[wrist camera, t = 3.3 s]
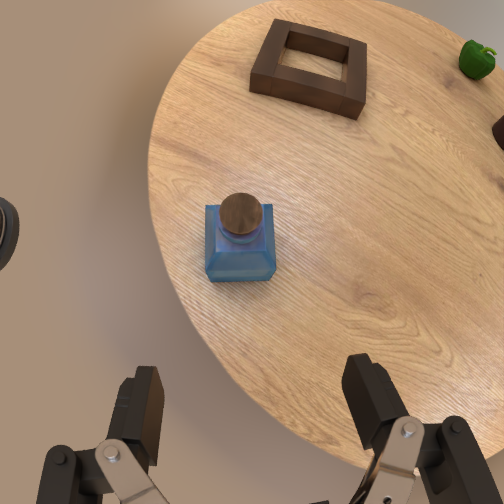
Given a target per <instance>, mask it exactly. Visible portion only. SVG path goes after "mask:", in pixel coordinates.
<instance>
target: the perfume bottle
mask: <svg viewBox="0 0 504 504" xmlns="http://www.w3.org/2000/svg"><path fill="white" fill-rule="evenodd" d="M275 271H276V256H275V239H274V222H273V207H272V204H260V202H259V201H258V200H257V199H256V198H255V197H254V196H252V195H249V194H247V193H235V194H232V195H230V196H228V197H227V198H226V199H225V200H224V201H223V202H222V204H221V205H206V208H205V272H206V274H207V276H208V278H209V280H210V281H211V282H238V281H269V280H270V278H271V277H272V275H273V274H274V272H275Z"/></svg>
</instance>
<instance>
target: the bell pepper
mask: <svg viewBox="0 0 504 504" xmlns="http://www.w3.org/2000/svg"><path fill="white" fill-rule="evenodd" d="M487 51H490V52H492V53H493V55H497V54H496V52H495V51H494V50H493V49H491V48H488V47H486V48H484V47H483V45H481V44H478V43H476V42H475V41H474V40H470V41H468V42H466V43H465V44H464V46H463V47H462V50H461V53H460V57H459V66H460V69H461V70H462V71H463V72H464V73H465V74H466V75H467V76H469V77H471V78H472V77H473V78H474V79H476V80H480V79H482V78H484V77H485V76H487V75H488V74H490V73H491V72H492V71H493V69H494V68H495V58H494V57H493V56H492V55H490V54H489V53H487Z"/></svg>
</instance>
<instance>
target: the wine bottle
mask: <svg viewBox="0 0 504 504" xmlns="http://www.w3.org/2000/svg"><path fill="white" fill-rule="evenodd" d="M493 134H494V136H495V139H496V140H497V142H498V143H499V145H500V146H501V147H502V148H503V150H504V115H503V116H502V117H501V118H500V119H499V120H498V121H497V122H496V123H495V124H494V126H493Z"/></svg>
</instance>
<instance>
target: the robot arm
mask: <svg viewBox="0 0 504 504" xmlns="http://www.w3.org/2000/svg"><path fill="white" fill-rule="evenodd" d="M6 229H7V219H6V214H5V211H4V209H3V208H2V207H1V206H0V249H1V247H2V244H3V242H4V238H5V235H6ZM342 390H343V393H344V396H345V398H346V401H347V404H348V407H349V409H350V412H351V415H352V417H353V420H354V423H355V426H356V429H357V431H358V434H359V437H360V440H361V443H362V445H363V448H364V450H367V449H371V448H373V451H374V455H373V457H372V459H371V462H370V464H369V466H368V468H367V471H366V473H365V475H364V477H363V480H362V482H361V484H360V486H359V488H358V490H357V491H356V493H355V495H354V496H353V498H352V499H351V501H350V503H349V504H407V502H408V499H409V497H410V494H411V491H412V488H413V485H414V482H415V475H414V474H413V472H414V468H415V467H418V469H419V472H420V475H421V478H422V481H423V484H424V486H425V490H426V493H427V496H428V499H429V502H430V504H503V502H502V499H501V497H500V494H499V492H498V489H497V487H496V484H495V482H494V479H493V477H492V475H491V472H490V470H489V467H488V465H487V463H486V461H485V458H484V456H483V454H482V452H481V450H480V448H479V445H478V443H477V441H476V439H475V437H474V435H473V433H472V431H471V429H470V427H469V425H468V423H467V422H466V420H465V419H463V418H462V417H460V416H449V417H447V418H446V419H445V420H444V421H443V423H438V424H424V423H422V422H421V421H420V420H418V419H417V418H415V417H412V416H410V415H409V413H408V412H407V410H406V408H405V406H404V404H403V402H402V400H401V398H400V396H399V394H398V392H397V390H396V388H395V386H394V384H393V382H392V381H391V378H390V376H389V374H388V373H387V371H386V369H384V368H383V367H382V366H381V365H380V364H379V363H373V364H372V362H371V360H370V358H369V356H368V354H366V353H362V354H355V355H350V356H348V359H347V362H346V366H345V369H344V373H343V376H342ZM163 408H164V389H163V386H162V383H161V380H160V376H159V373H158V370H157V368H156V366H138V367H137V370H136V374H135V378H126V379H125V381H124V382H123V383H122V385H121V386H120V388H119V392H118V395H117V399H116V403H115V407H114V411H113V414H112V418H111V422H110V426H109V431H108V435H107V438H106V439H105V441H103V442H101V443H100V444H99V445H98V446H97V447H96V448H94V449H89V450H83V451H73V450H72V449H71V448H70V447H68V446H65V445H57V446H54V447H52V448H51V449H50V450H49V451H48V453H47V455H46V458H45V462H44V467H43V471H42V476H41V480H40V485H39V491H38V496H37V501H36V504H102V499H103V494H106V493H113V492H115V494H116V495H117V497H118V499H119V500H120V504H170V503H169V502H168V501H167V500H166V498H165V497H164V496H163V495H162V493H161V492H160V491H159V489H158V488H157V487H156V485H155V484H154V483H153V481H152V480H151V479H150V477H149V476H148V468H149V466H157V458H158V448H159V439H160V431H161V423H162V415H163ZM311 504H329V501H328V500H327V501H322V502H317V503H311Z"/></svg>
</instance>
